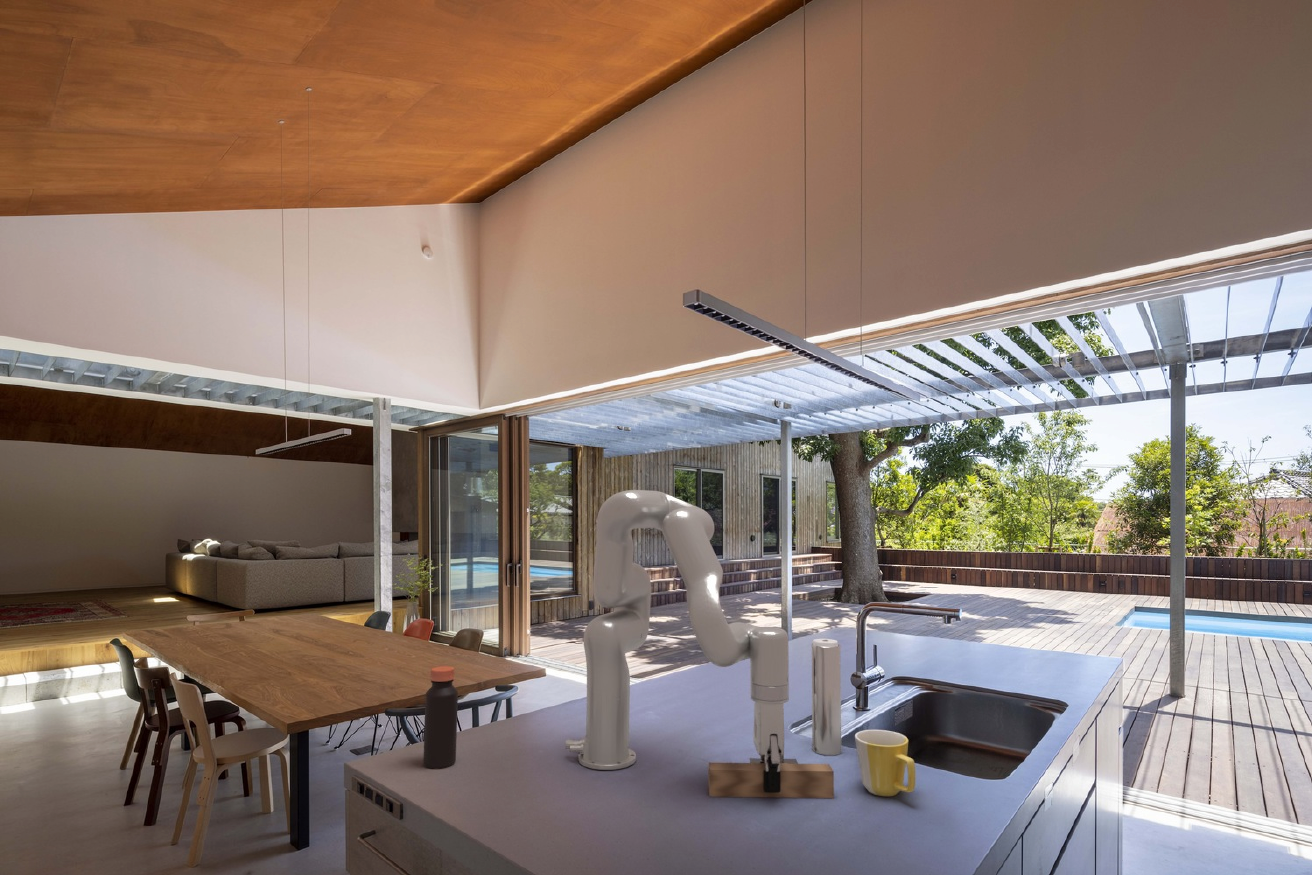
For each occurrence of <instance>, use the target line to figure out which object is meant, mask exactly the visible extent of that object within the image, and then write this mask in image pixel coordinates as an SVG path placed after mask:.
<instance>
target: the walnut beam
mask: <svg viewBox="0 0 1312 875" xmlns="http://www.w3.org/2000/svg"><path fill="white" fill-rule="evenodd" d="M764 770H765V763H750V762H710V761H709V762H708V775H707V776H708V779H707V780H708V786H707V787H708V794H709V797H710V798H711V797H713V798H714V797H715V798H716V797H718V798H719V797H720V798H721V797H723V798H726V797H728V798H792V799H793V798H795V799H799V798H801V799H803V798H804V799H806V798H807V799H809V798H810V799H834V798H835V788H834V787H835V786H834V785H835V783H834V782H835V778H834V774H835V773H834V769H833V768H832V766H831V765H830V764H829V763H798V764H787V763H780V778H781V791H780V792H779V793H766V792H764Z"/></svg>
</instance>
